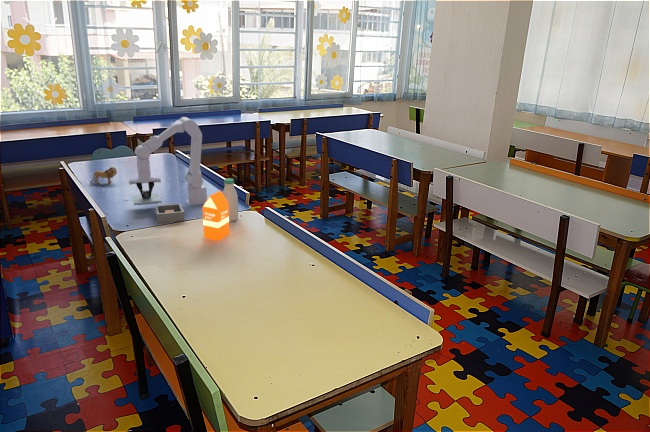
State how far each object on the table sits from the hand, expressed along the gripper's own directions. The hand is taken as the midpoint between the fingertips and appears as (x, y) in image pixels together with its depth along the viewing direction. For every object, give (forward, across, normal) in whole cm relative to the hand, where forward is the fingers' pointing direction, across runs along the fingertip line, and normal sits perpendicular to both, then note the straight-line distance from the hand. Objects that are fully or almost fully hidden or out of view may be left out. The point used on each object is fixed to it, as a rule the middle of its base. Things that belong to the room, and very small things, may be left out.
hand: (146, 197), depth 247 cm
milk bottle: (+7, +36, -24) cm, 44 cm away
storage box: (+7, +9, -15) cm, 19 cm away
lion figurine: (+7, -19, +53) cm, 57 cm away
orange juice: (+7, +26, -42) cm, 50 cm away
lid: (+1, 0, 0) cm, 1 cm away
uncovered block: (+6, +9, -15) cm, 19 cm away
